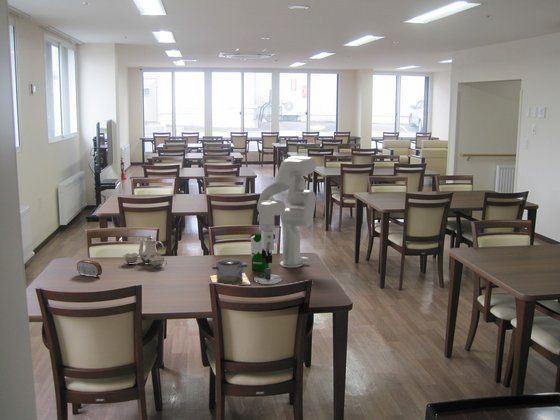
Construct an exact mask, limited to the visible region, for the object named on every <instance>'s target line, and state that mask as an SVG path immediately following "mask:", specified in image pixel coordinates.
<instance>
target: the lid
mask: <svg viewBox="0 0 560 420" xmlns="http://www.w3.org/2000/svg"><path fill="white" fill-rule="evenodd" d="M282 279H283V277H282V276H280V275H278V274H272V268H271V267H269V268H265V271H264V274H259V275H256V276H255V277H254V278H253V281H254V282H255V283H257V284H259V283H260V285H275V284H278V283H281V282H282V281H283V280H282Z"/></svg>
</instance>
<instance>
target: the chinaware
mask: <svg viewBox="0 0 560 420" xmlns="http://www.w3.org/2000/svg"><path fill="white" fill-rule="evenodd" d="M138 239H139V242H140V244H139V247H138V248H139V249H138V253H136V252H132V253H125V254H123V255H122V257H123V258H124V260H125V262H126V263H127V264H129V263H134V264H135V263H136V262H137V260H138V257H139V258H140V260H141V261H142V262H143V264H144V263H148V264H152V265H151V266H153V267H156V268H155V269H160V268H162V267H163V266H164V267H165V266H167V265H168V263H167V260H166V258H165V256H164V255H162V252H164V248H165V246H164V244H163V243H162V241H158V240H157V239H156V238H154V237H153V236H152V235H151V234H149V235H148V236H147V237H146V238H144V241H143V239H142V238H138ZM156 240H157V241H156ZM144 243H145V247H144ZM158 244H160V245H161V250H160V251H158V249H157V247H156V245H158ZM164 262H165V263H166V264H163V263H164ZM159 267H160V268H159Z"/></svg>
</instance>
